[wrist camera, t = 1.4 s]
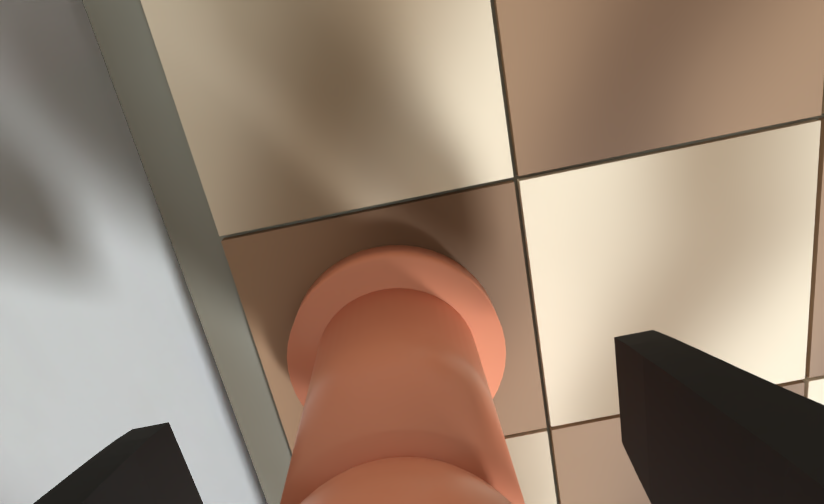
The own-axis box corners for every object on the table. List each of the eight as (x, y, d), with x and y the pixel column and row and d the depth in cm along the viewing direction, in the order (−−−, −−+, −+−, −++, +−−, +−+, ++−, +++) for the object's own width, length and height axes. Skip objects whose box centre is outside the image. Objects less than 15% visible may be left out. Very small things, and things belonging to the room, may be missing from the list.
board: (332, 636, 16) (328, 679, 15) (58, -142, 9) (13, -169, 8) (1213, 476, 15) (1278, 508, 14) (1588, -480, 9) (1765, -560, 8)
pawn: (322, 442, 12) (222, 1021, 5) (268, 268, 11) (8, 715, 3) (510, 406, 12) (702, 944, 5) (482, 225, 11) (694, 593, 3)
